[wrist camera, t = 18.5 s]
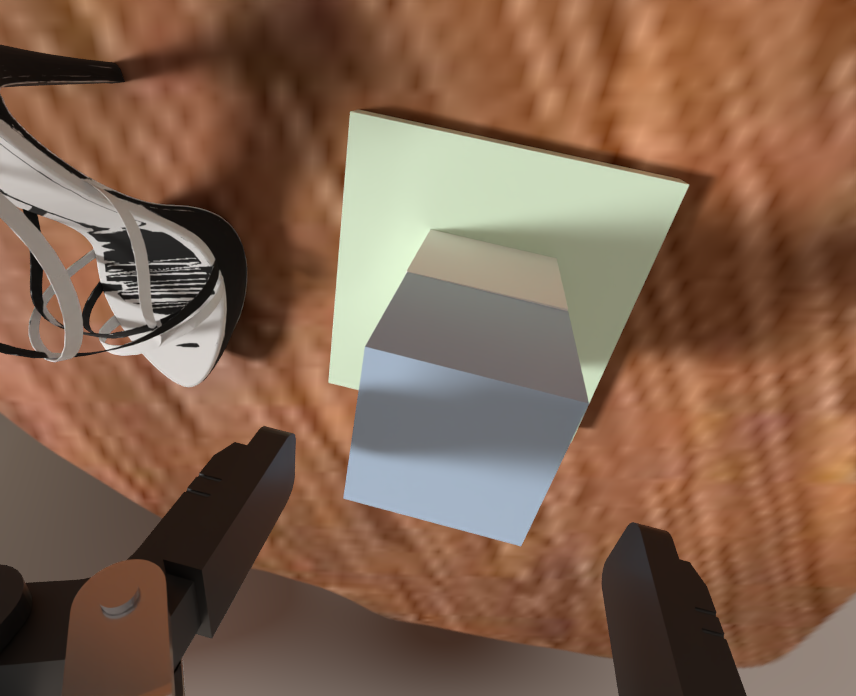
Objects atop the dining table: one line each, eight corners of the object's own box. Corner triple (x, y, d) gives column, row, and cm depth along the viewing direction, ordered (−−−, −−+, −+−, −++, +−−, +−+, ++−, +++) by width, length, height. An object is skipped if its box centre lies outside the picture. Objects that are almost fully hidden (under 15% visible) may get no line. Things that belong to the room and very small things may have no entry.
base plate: (679, 178, 18) (689, 184, 17) (569, 427, 25) (571, 442, 24) (359, 109, 19) (350, 111, 18) (336, 370, 25) (328, 382, 24)
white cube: (556, 258, 19) (568, 309, 15) (520, 364, 22) (521, 433, 18) (430, 229, 20) (406, 271, 15) (409, 338, 22) (385, 399, 18)
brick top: (568, 311, 15) (589, 403, 11) (519, 434, 18) (521, 546, 14) (407, 271, 15) (364, 346, 11) (384, 399, 18) (343, 498, 14)
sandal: (245, 370, 27) (-5, 638, 14) (94, 318, 27) (-299, 540, 14) (274, 76, 19) (-248, 68, 6) (59, 0, 19) (-942, -172, 6)
